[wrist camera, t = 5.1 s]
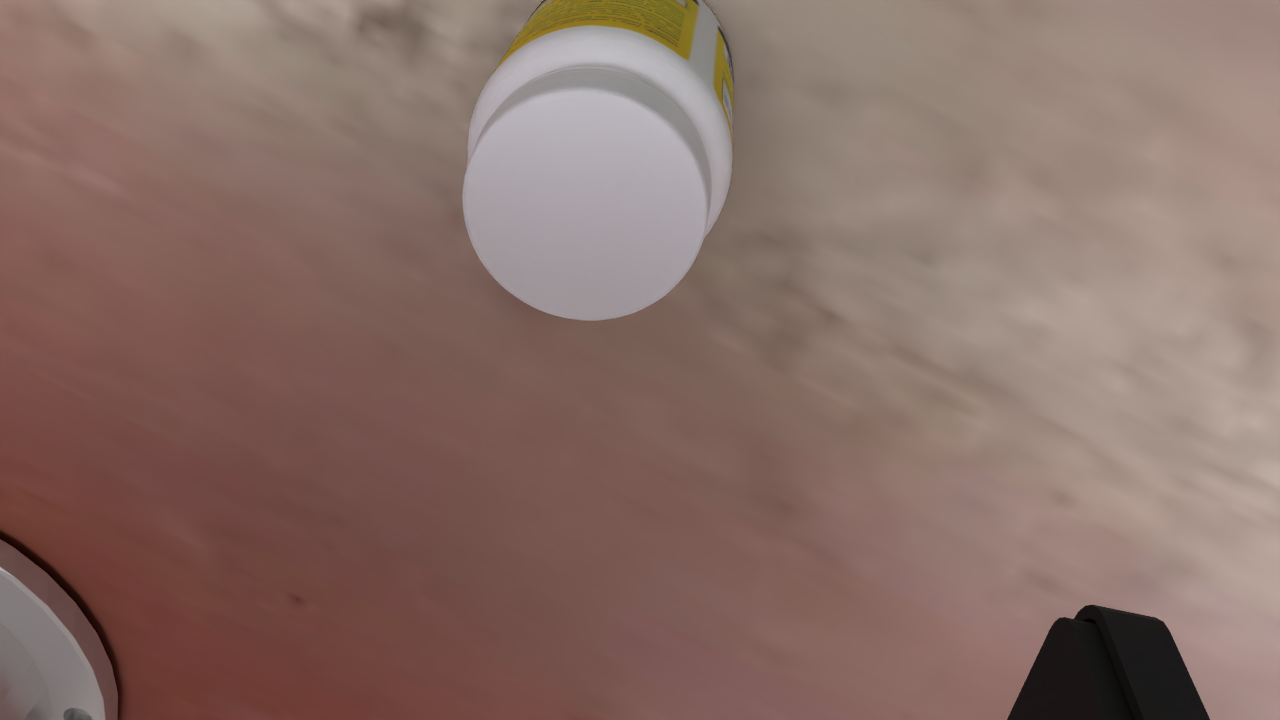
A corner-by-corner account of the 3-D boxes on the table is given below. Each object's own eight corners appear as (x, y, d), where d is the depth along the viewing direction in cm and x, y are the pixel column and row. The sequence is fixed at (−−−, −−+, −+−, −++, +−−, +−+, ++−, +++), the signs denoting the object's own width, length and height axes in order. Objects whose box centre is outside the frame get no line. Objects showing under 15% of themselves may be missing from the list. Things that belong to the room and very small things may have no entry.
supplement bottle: (476, 51, 26) (373, 177, 19) (644, -87, 25) (603, -7, 17) (611, 215, 28) (565, 391, 20) (776, 96, 26) (792, 240, 19)
